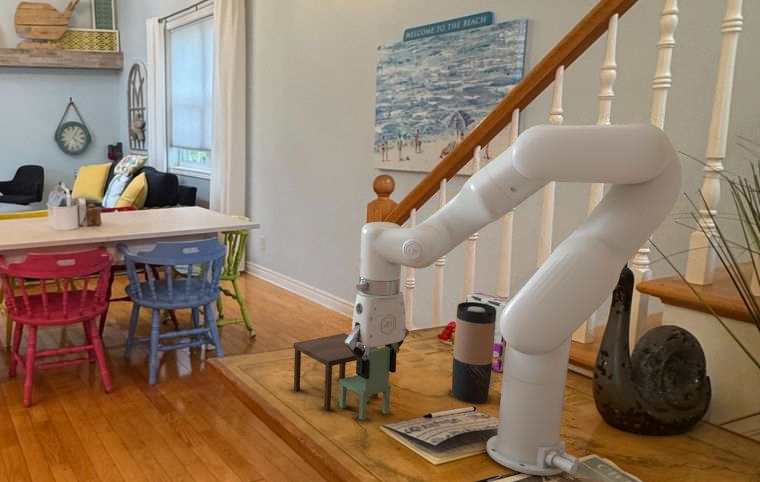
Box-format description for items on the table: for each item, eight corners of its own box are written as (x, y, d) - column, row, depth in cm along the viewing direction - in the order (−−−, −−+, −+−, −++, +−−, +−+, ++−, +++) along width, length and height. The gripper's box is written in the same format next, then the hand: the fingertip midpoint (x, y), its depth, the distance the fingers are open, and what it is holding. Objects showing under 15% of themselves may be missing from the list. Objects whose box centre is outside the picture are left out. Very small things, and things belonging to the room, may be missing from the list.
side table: (379, 398, 136) (381, 349, 134) (326, 411, 130) (328, 361, 128) (342, 378, 147) (344, 332, 145) (292, 389, 141) (293, 342, 139)
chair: (389, 413, 129) (392, 347, 126) (362, 420, 126) (364, 353, 123) (365, 399, 135) (367, 337, 133) (338, 406, 132) (340, 342, 130)
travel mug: (490, 393, 138) (498, 304, 134) (487, 406, 132) (495, 314, 128) (453, 385, 142) (459, 300, 138) (447, 399, 135) (454, 309, 132)
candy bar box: (514, 369, 151) (520, 303, 147) (499, 373, 148) (505, 305, 145) (475, 354, 161) (480, 291, 157) (460, 357, 158) (465, 294, 155)
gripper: (357, 296, 116) (354, 388, 119) (427, 284, 123) (422, 372, 127) (331, 287, 123) (329, 375, 126) (398, 276, 130) (395, 359, 133)
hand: (375, 372), depth 126 cm, fingers closed on chair, 6 cm apart
